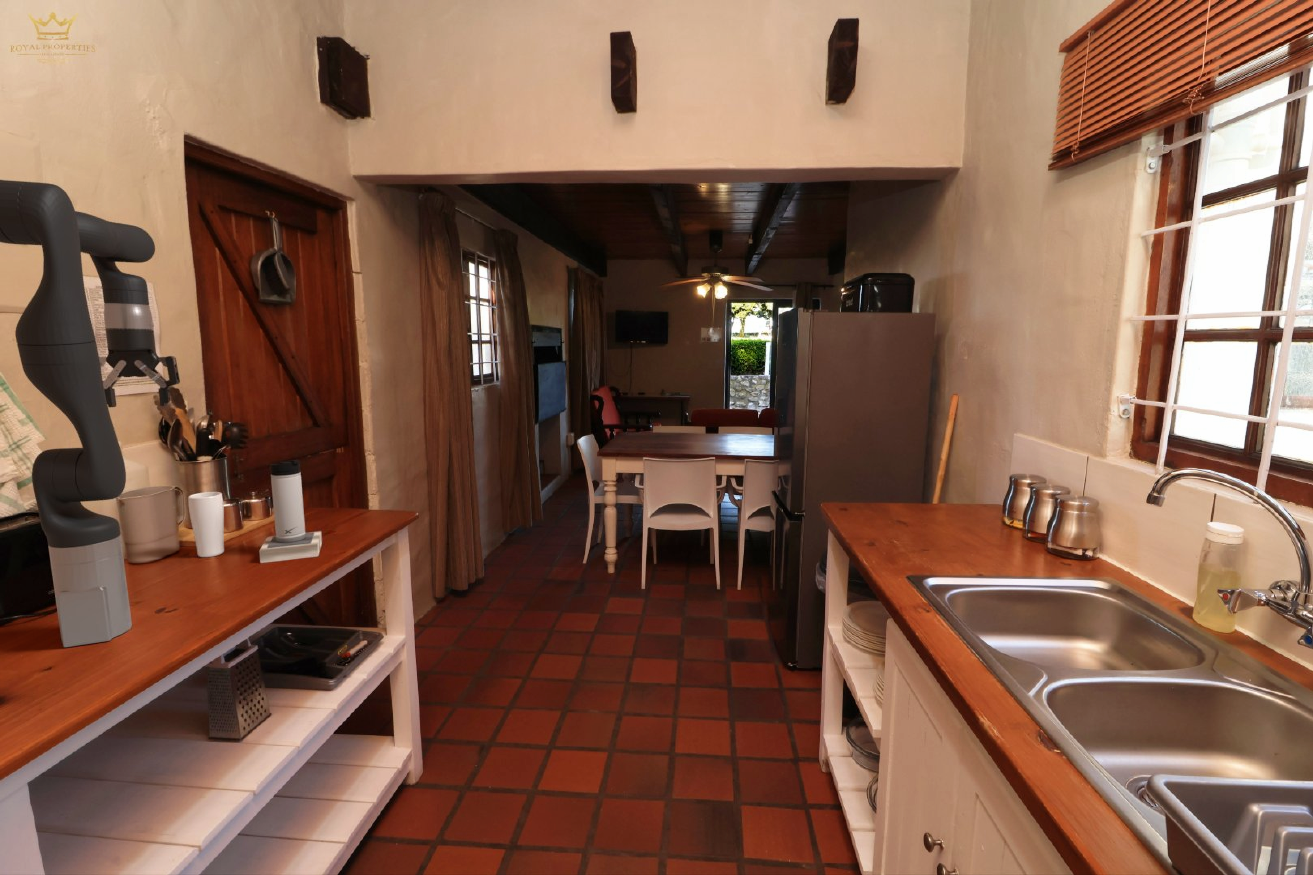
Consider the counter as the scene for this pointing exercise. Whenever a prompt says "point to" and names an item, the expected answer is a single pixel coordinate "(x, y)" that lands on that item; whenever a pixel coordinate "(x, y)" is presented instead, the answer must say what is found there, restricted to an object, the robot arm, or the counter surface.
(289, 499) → the travel mug
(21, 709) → the counter surface
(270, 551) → the base
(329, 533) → the counter surface
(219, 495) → the white tall cylinder
